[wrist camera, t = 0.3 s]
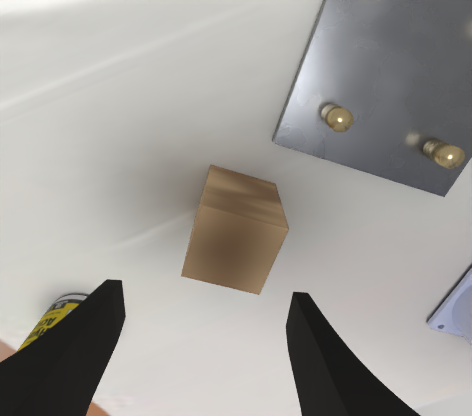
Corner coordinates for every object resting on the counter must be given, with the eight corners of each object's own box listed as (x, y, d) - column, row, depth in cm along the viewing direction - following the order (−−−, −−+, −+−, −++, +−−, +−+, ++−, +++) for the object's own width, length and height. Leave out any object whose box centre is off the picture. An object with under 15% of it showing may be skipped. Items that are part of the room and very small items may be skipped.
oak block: (275, 183, 21) (288, 229, 15) (253, 237, 23) (259, 294, 17) (210, 164, 20) (201, 205, 15) (194, 221, 22) (181, 276, 17)
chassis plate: (572, -12, 16) (635, -24, 13) (437, 192, 21) (464, 210, 19) (363, -107, 14) (390, -141, 12) (272, 139, 19) (277, 152, 17)
